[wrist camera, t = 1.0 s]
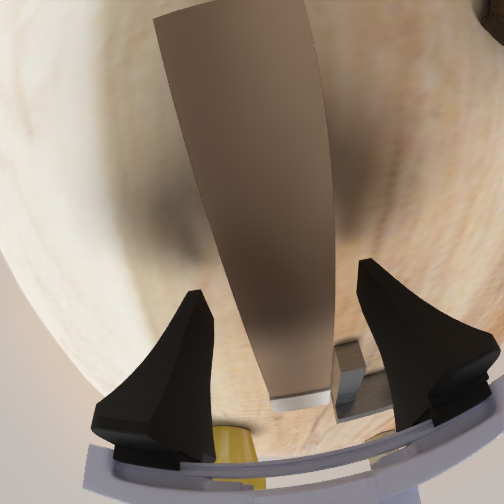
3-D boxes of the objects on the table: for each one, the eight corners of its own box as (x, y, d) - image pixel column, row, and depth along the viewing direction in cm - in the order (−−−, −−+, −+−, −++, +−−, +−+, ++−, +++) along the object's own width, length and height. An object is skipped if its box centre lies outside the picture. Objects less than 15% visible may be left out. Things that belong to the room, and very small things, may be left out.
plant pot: (197, 438, 36) (195, 491, 28) (183, 419, 30) (179, 486, 22) (261, 438, 36) (264, 492, 28) (263, 420, 30) (267, 489, 22)
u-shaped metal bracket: (434, 318, 19) (452, 354, 16) (409, 368, 24) (420, 397, 21) (334, 346, 20) (345, 390, 17) (329, 390, 25) (336, 423, 22)
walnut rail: (276, 26, 8) (304, -13, 4) (316, 342, 19) (329, 403, 15) (188, 43, 8) (148, 18, 4) (269, 351, 20) (275, 412, 16)
